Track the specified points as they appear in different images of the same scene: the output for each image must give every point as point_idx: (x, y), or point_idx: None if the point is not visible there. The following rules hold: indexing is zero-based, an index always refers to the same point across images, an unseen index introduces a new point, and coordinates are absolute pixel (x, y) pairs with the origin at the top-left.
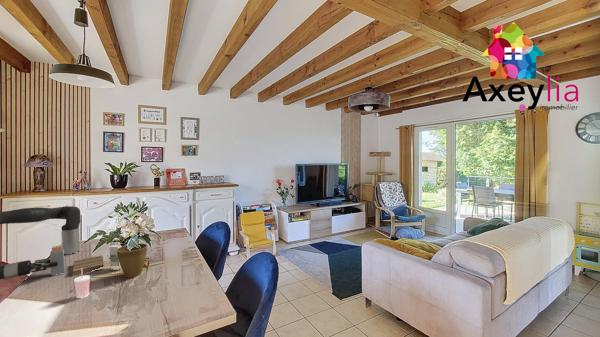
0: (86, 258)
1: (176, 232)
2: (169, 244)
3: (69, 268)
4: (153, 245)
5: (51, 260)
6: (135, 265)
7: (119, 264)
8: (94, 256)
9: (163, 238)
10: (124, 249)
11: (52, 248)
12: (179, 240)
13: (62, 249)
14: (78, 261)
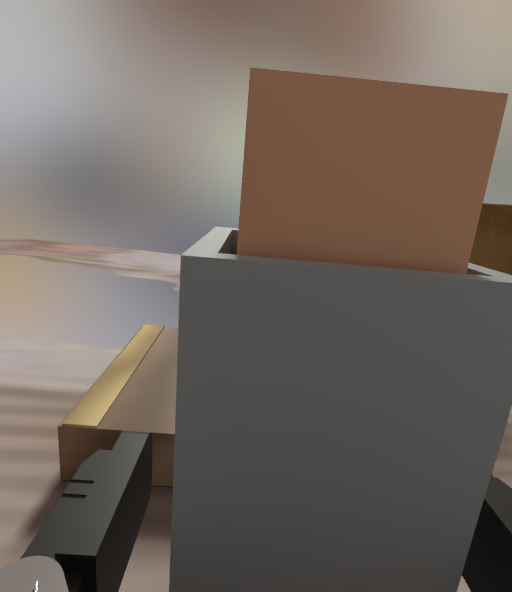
0: (126, 369)
1: (45, 244)
2: (178, 266)
3: (141, 526)
4: (134, 275)
5: (470, 477)
6: None
7: None
8: (129, 343)
9: (73, 258)
10: (497, 222)
11: (490, 113)
12: (160, 257)
13: (232, 231)
14: (153, 409)
